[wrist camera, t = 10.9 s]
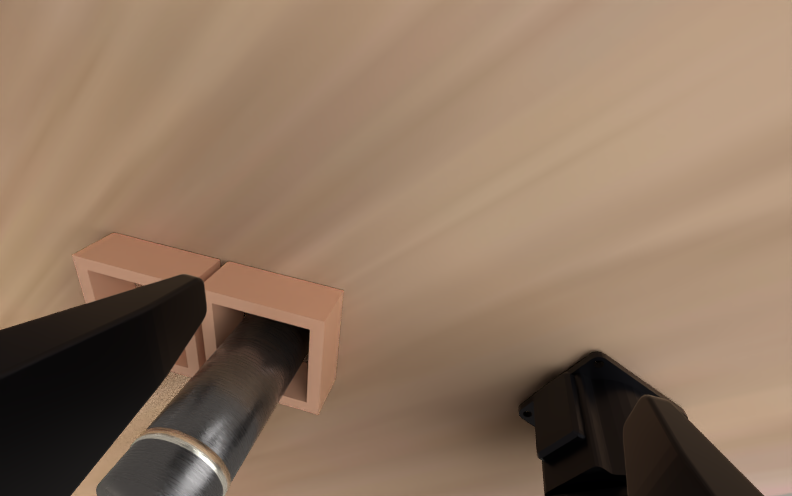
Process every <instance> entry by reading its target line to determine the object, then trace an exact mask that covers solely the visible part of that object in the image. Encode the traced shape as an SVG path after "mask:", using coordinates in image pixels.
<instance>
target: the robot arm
mask: <svg viewBox="0 0 792 496" xmlns="http://www.w3.org/2000/svg"><path fill="white" fill-rule="evenodd" d="M206 313H207V303H206V294H205V285H204V282H203V280H202V279H201V278H199V277H196V276H192V275H188V274H180V275H177V276H174V277H171V278H167V279H164V280H161V281H158V282H154V283H151V284H148V285H145V286H142V287H138V288H135V289H132V290H129V291H125V292H122V293H119V294H116V295H112V296H109V297H106V298H103V299H99V300H96V301H93V302H90V303H87V304H83V305H80V306H77V307H74V308H70V309H67V310H64V311H61V312H57V313H54V314H51V315H48V316H44V317H41V318H38V319H35V320H31V321H28V322H25V323H22V324H19V325H15V326H12V327H9V328H6V329H2V330H0V496H71V495H72V493H73V492H74V491H75V490H76V488H77V487H78V486H79V485H80V484H81V482H82V481H83V480H84V479H85V477H86V476H87V475H88V474H89V472H90V471H91V470H92V469H93V467H94V466H95V465H96V464H97V462H98V461H99V460H100V459H101V458H102V456H103V455H104V454H105V453H106V451H107V450H108V449H109V448H110V446H111V445H112V444H113V443H114V441H115V440H116V439H117V438H118V436H119V435H120V434H121V433H122V432H123V430H124V429H125V428H126V427H127V425H128V424H129V423H130V422H131V420H132V419H133V418H134V417H135V415H136V414H137V413H138V412H139V410H140V409H141V408H142V407H143V406H144V404H145V403H146V402H147V401H148V399H149V398H150V397H151V396H152V394H153V393H154V392H155V391H156V389H157V388H158V387H159V386H160V384H161V383H162V382H163V380H164V379H165V378H166V376H167V375H168V374H169V372H170V371H171V369H172V368H173V366H174V365H175V363H176V362H177V360H178V359H179V357H180V356H181V354H182V352H183V351H184V349H185V348H186V346H187V345H188V343H189V342H190V340H191V339H192V337H193V336H194V334H195V333H196V331H197V329H198V328H199V326H200V325H201V323H202V322H203V320H204V318H205V316H206ZM595 361H601V362H599V363H596V362H595ZM526 411H529V412H526ZM519 416H520V417H521V418H522V419H524V420H525V421H527V422H528V423H530V424H531V425H533V426H534V427H535V432H536V447H537V457H538V458H539V459H540V460H542V468H543V481H544V494H545V496H764V495H763V494H762V493H761V492H760V491H759V490H758V489H757V488H756V487H755V486H754V485H753V484H752V483H751V482H750V481H749V480H748V479H747V478H746V477H745V476H744V475H743V474H742V473H741V472H740V471H739V470H738V469H737V468H736V467H735V466H734V465H733V464H732V463H731V462H730V461H729V460H728V459H727V458H726V457H725V456H724V455H723V454H722V453H721V452H720V451H719V450H718V449H717V448H716V447H715V446H714V445H713V444H712V443H711V442H710V441H709V440H708V439H707V438H706V437H705V436H704V435H703V434H702V433H701V432H700V431H699V430H698V429H697V428H696V427H695V426H694V425H693V424H692V423H691V422H690V421H689V420H688V417H687V415H686V413H685V411H684V410H683V409H682V408H681V407H679V406H678V405H676V404H675V403H674V402H672V401H671V400H669V399H668V398H666V397H665V396H664V395H662V394H661V393H659V392H658V391H657V390H655V389H654V388H652V387H651V386H650V385H648V384H647V383H645V382H644V381H642V380H641V379H640V378H638V377H637V376H635V375H634V374H633V373H631V372H630V371H628V370H627V369H626V368H624V367H623V366H621V365H620V364H618V363H617V362H616V361H614V360H613V359H611V358H610V357H609V356H607V355H606V354H604V353H602V352H593V353H591V354H590V355H588V356H587V357H585V358H584V359H583V360H581V361H580V362H579V363H577V364H576V365H574V366H573V367H572V368H570V369H569V370H567V371H566V372H565V373H562V374H561V375H559V376H558V377H557V378H555V379H554V380H553V381H551V382H550V383H548V384H547V385H546V386H544V387H543V388H542V389H540V390H539V391H537V392H536V393H535V394H534V395H533V396H532V397H530V398H529V399H528V400H526V401H525V402H523V403H522V404H521V405H520V406H519Z"/></svg>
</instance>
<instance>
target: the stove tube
mask: <svg viewBox="0 0 792 496" xmlns="http://www.w3.org/2000/svg"><path fill="white" fill-rule="evenodd" d="M309 339H310V330H309V329H306V328H302V327H298V326H295V325H291V324H287V323H284V322H280V321H276V320H272V319H269V318H265V317H261V316H258V315H254V314H250V313H248V314H247V315H246V316H245V318H244V319H243V320H242V321H241V322H240V323H239V324H238V326H237V327H236V328H235V329H234V330H233V331H232V332H231V334H230V335H229V336H228V337H227V338H226V339H225V340H224V342H223V343H222V344H221V345H220V346H219V347H218V348H217V350H216V351H215V352H214V353H213V354H212V355H211V356H210V357H209V359H208V360H207V361H206V362H205V363H204V364H203V365H202V367H201V368H200V369H199V370H198V371H197V372H196V373H195V375H194V376H193V377H192V378H191V379H190V380H189V381H188V383H187V384H186V385H185V386H184V387H183V388H182V389H181V391H180V392H179V393H178V394H177V395H176V396H175V397H174V398H173V400H172V401H171V402H170V403H169V404H168V405H167V406H166V408H165V409H164V410H163V411H162V412H161V413H160V414H159V416H158V417H157V418H156V419H155V420H154V421H153V422H152V424H151V425H150V426H149V427H148V428H147V429H146V430H145V431H143V432H142V433H141V434H140V435H139V437H138V438H137V439H136V440H135V441H134V442H133V443H132V445H131V446H130V449H129V450H128V451H127V452H126V453H125V454H124V455H123V457H122V458H121V459H120V460H119V461H118V462H117V463H116V465H115V466H114V467H113V468H112V469H111V470H110V471H109V473H108V474H107V475H106V476H105V477H104V478H103V479H102V480H101V482H100V483H99V484H98V486H97V489H96V492H97V496H225V494H226V492H227V491H228V489H229V487H230V484H231V482H232V480H233V478H234V477H235V475H236V473H237V472H238V470H239V468H240V467H241V465H242V463H243V461H244V460H245V458H246V456H247V455H248V453H249V451H250V450H251V448H252V446H253V445H254V443H255V441H256V440H257V438H258V436H259V435H260V433H261V431H262V430H263V428H264V426H265V425H266V423H267V421H268V419H269V418H270V416H271V414H272V413H273V411H274V409H275V408H276V406H277V404H278V403H279V401H280V399H281V398H282V396H283V394H284V393H285V391H286V389H287V388H288V386H289V384H290V383H291V381H292V379H293V377H294V376H295V374H296V372H297V371H298V369H299V367H300V366H301V364H302V362H303V361H304V359H305V357H306V356H307V354H308V352H309Z"/></svg>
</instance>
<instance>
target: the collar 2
mask: <svg viewBox="0 0 792 496" xmlns="http://www.w3.org/2000/svg"><path fill="white" fill-rule="evenodd" d="M204 285H205V294H206V303H207V313H206V316H205V318H204V320H203V322H202V331H203V339H204V347H205V355H206V361H207V360H208V359H209V357H210V356H211V355H212V354H213V353H214V352H215V351H216V350H217V348H218V347H219V346H220V345H221V344H222V343H223V342H224V340H225V339H226V338H227V337H228V336H229V335H230V334H231V332H232V331H233V330H234V329H235V328H236V327H237V326H238V324H239V323H240V322H241V321H242V320H243V312H247V313H250V314H254V315H258V316H261V317H265V318H269V319H272V320H276V321H280V322H284V323H287V324H291V325H295V326H298V327H302V328H306V329H309V330H310V339H309V361H308V363H307V362H302V364H301V366H300V367H299V369H298V371H297V372H296V374H295V376H294V377H293V379H292V381H291V383H290V384H289V386H288V388H287V389H286V391H285V393H284V394H283V396H282V398H281V399H280V401H279V403H280V404H283V405H286V406H290V407H293V408H297V409H300V410H303V411H307V412H310V413H313V414H317V415H319V413H320V411H321V409H322V407H323V404H324V402H325V400H326V398H327V396H328V394H329V392H330V390H331V388H332V386H333V384H334V381H335V379H336V369H337V358H338V347H339V336H340V325H341V314H342V303H343V292H344V291H343V290H340V289H336V288H332V287H328V286H324V285H320V284H316V283H312V282H308V281H304V280H300V279H296V278H292V277H288V276H285V275H281V274H277V273H273V272H269V271H265V270H261V269H257V268H253V267H249V266H245V265H241V264H237V263H234V262H230V261H228V262H227V263H226V264H224V265H223V266H222V267H221V268H220V269H219V270H218V271H216V272H215V273H214V274H213V275H212V276H211V277H209V278H208V279H207V280H206V281H205V282H204Z"/></svg>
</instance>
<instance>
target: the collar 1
mask: <svg viewBox="0 0 792 496" xmlns="http://www.w3.org/2000/svg"><path fill="white" fill-rule="evenodd" d="M72 257H73V261H74V264H75V268H76V271H77V275H78V278H79V282H80V285H81V289H82V292H83V295H84V299H85V302H86V304H87V303H90V302H93V301H96V300H99V299H103V298H106V297H109V296H112V295H116V294H119V293H122V292H125V291H129V290H132V289H135V288H136V287H135V283H137V284H141V285H148V284H151V283H154V282H158V281H161V280H164V279H167V278H171V277H174V276H177V275H180V274H188V275H192V276H196V277H199V278H201V279H202V280H203V282H205V281H206V280H207V279H208V278H209V277H211V276H212V275H213V274H214V273H215V272H216V271H218V270H219V269H220V268H221V266H220V259H216V258H212V257H208V256H204V255H200V254H196V253H192V252H188V251H184V250H180V249H177V248H173V247H169V246H165V245H161V244H157V243H153V242H149V241H145V240H141V239H137V238H133V237H129V236H125V235H122V234H118V233H112V234H110V235H108V236H106V237H104V238H102V239H101V240H99V241H97V242H95V243H93V244H91V245H89V246H88V247H86V248H84V249H82V250H80V251H78V252H77V253H75V254H73V255H72ZM205 362H206V355H205V347H204V339H203V331H202V323H201V325H200V326H199V328H198V329H197V331H196V333H195V334H194V336H193V337H192V339H191V340H190V342H189V343H188V345H187V346H186V348H185V349H184V351H183V352H182V354H181V356H180V357H179V359H178V360H177V362H176V363H175V365H174V366H173V368H172V369H171V372H174V373H178V374H181V375H184V376H188V377H191V378H192V377H193V376H194V375H195V373H196V372H197V371H198V370H199V369H200V368H201V367H202V365H203V364H204V363H205Z"/></svg>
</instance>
